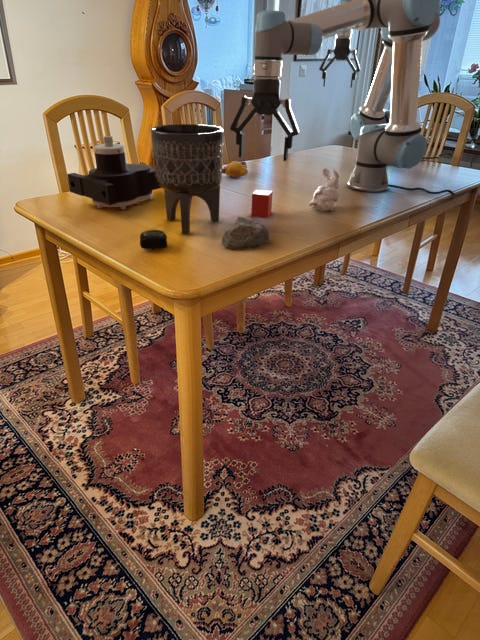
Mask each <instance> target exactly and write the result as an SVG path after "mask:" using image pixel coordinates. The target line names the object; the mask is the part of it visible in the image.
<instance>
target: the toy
mask: <svg viewBox="0 0 480 640" xmlns="http://www.w3.org/2000/svg"><path fill="white" fill-rule="evenodd" d="M248 172H249V170H248V165H247V162H246V161H241V162H239V161H237V160H235V161H231V162H229V163H226V165H225V166H223V167H222V175H223V174H224V175H227V176H229V177H232V178H241V177H243V176H246V175H247V174H248Z"/></svg>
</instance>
